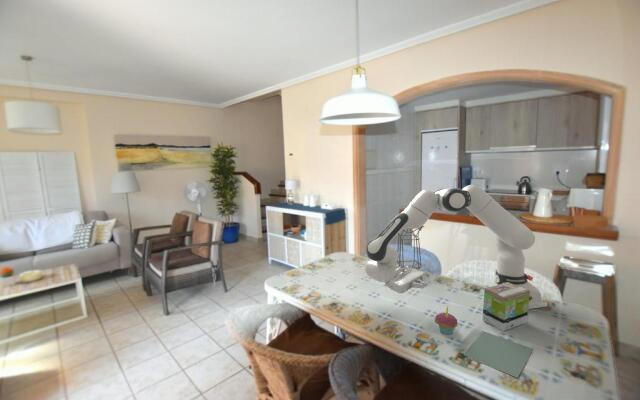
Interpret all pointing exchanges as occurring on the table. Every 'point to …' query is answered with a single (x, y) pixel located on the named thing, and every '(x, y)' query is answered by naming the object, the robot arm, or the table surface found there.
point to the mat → (499, 353)
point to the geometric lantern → (414, 247)
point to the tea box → (506, 305)
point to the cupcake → (446, 322)
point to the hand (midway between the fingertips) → (424, 286)
